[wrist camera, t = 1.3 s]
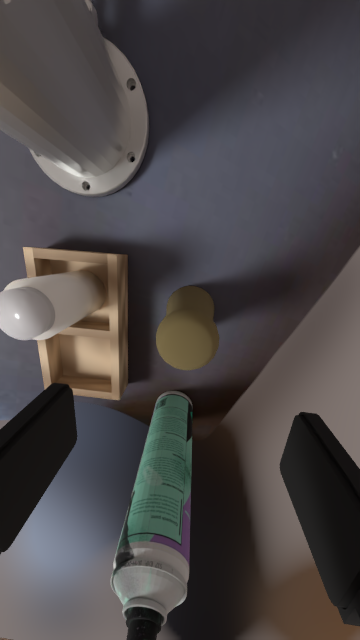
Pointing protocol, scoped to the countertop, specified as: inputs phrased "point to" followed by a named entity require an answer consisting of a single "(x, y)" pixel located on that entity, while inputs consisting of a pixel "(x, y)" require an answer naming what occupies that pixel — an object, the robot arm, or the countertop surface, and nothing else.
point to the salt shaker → (49, 303)
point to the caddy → (87, 326)
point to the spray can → (157, 523)
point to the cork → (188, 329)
